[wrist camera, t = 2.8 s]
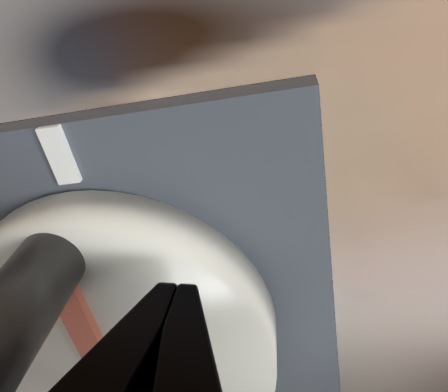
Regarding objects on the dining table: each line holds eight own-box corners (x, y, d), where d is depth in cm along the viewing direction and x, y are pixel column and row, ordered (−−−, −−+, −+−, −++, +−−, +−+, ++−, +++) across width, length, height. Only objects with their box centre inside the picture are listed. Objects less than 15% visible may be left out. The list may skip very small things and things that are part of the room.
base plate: (315, 74, 11) (319, 86, 10) (339, 407, 19) (343, 434, 18) (-151, 146, 14) (-185, 162, 13) (30, 412, 21) (18, 435, 20)
